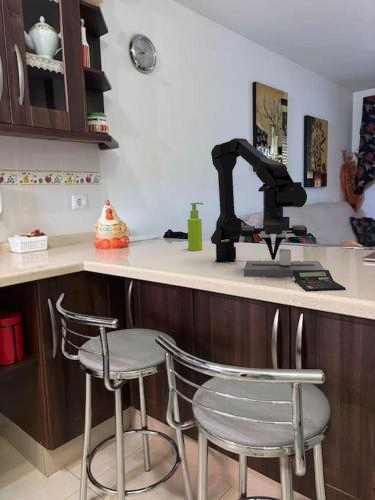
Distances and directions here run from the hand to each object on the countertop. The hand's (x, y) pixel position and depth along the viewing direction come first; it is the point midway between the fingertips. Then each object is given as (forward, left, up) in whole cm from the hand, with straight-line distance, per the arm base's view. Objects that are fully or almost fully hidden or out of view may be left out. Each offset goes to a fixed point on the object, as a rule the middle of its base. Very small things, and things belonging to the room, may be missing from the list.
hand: (273, 259), depth 114 cm
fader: (+3, 0, -1) cm, 4 cm away
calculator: (+11, -16, -4) cm, 20 cm away
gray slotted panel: (+3, 0, -4) cm, 5 cm away
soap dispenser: (-31, +43, -4) cm, 53 cm away
